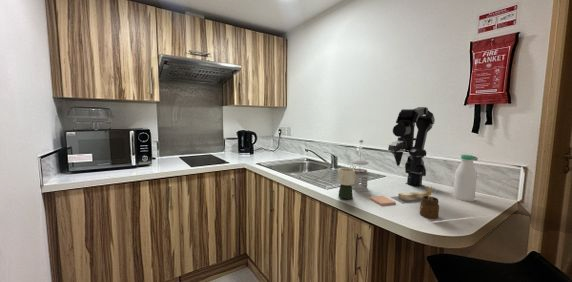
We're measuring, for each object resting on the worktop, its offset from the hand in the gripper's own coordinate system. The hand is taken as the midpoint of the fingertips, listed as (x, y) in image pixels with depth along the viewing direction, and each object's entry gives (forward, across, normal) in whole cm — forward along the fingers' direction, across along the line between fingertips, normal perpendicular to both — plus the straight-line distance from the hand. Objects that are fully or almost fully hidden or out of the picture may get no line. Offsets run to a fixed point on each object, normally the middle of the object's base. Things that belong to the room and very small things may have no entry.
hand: (404, 167), depth 111 cm
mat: (+12, +10, -3) cm, 16 cm away
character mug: (+12, +2, -32) cm, 34 cm away
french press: (+12, -8, -20) cm, 25 cm away
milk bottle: (+12, +14, +20) cm, 27 cm away
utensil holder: (+12, +26, -11) cm, 31 cm away
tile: (+12, +10, -16) cm, 22 cm away
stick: (+12, +10, -3) cm, 16 cm away
